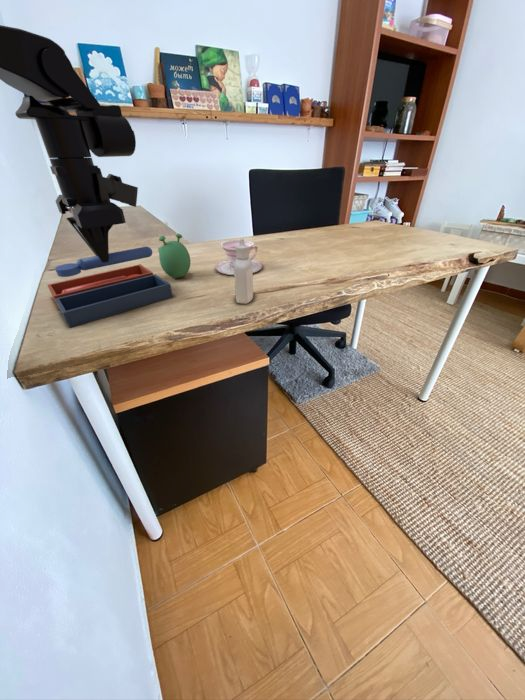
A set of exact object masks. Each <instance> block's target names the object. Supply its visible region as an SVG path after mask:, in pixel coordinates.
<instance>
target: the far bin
mask: <svg viewBox="0 0 525 700" xmlns="http://www.w3.org/2000/svg"><path fill="white" fill-rule="evenodd" d="M133 274H141V275H137V276H133V277H129V278H124V279H120V280H116V281H112V282H108V283H104V284H99V285H95V286H91V287H87V288H83V289H79V290H74V291H70V292H66V293H62V294H61V292H62V291H63V290H64V289H68V288H72V287H77V286H81V285H85V284H89V283H94V282H98V281H102V280H106V279H111V278H115V277H119V276H126V277H127V276H129V275H133ZM150 275H154V272H153V271H152V270H150V269H148V268H147V267H145V266H144V265H142V264H141V263H140V264H135V265H132V266H131V265H130V266H126V267H122V268H116V269H112V270H108V271H107V270H106V271H104V272H103V271H102V272H99V273H94V274H89V275H85V276H81V277H75V278H71V279H68V280H67V279H66V280H62V281H57V282H53V283H49V284H46V285H47V287H48V290H49V292H50V294H51V297H52V298H53V300H54V303H55V304H56V306H57V308H58V309H59V307H58V304H57V302H56V300H55V299H56V298H60V297H64V296H68V295H72V294H76V293H80V292H84V291H89V290H93V289H97V288H101V287H105V286H109V285H113V284H117V283H121V282H125V281H129V280H133V279H138V278H142V277H146V276H150Z"/></svg>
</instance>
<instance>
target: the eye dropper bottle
mask: <svg viewBox="0 0 525 700" xmlns="http://www.w3.org/2000/svg"><path fill="white" fill-rule="evenodd" d="M239 240H240V243H239V245H237V246H236V257H237V259H236V260H235V262H234V275H233V276H234V291H235V301H236V303H237V304H245V305H246V304H249V303H250V302H251V301H252V300H253V298H254V273H253V269H252V260H251V257H250V253H249V246H248V245H246V244H245V242H244V240H245V239H244V237H243V238H239Z"/></svg>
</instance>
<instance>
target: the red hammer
mask: <svg viewBox="0 0 525 700" xmlns="http://www.w3.org/2000/svg"><path fill="white" fill-rule="evenodd" d="M137 275H141V274H133V275H129V276H127V277H126V276H119V277H115V278H111V279H106V280H102V281H98V282H94V283H89V284H85V285H81V286H77V287H72V288H68V289H64V290H63V291H62V292H61V294H62V293H66V292H70V291H74V290H79V289H83V288H87V287H91V286H95V285H99V284H104V283H108V282H112V281H116V280H120V279H124V278H129V277H133V276H137Z"/></svg>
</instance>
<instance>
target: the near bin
mask: <svg viewBox="0 0 525 700" xmlns="http://www.w3.org/2000/svg"><path fill="white" fill-rule="evenodd" d="M170 298H174V297H173V293H172V287H171V284H170V283H169V282H168V281H166V280H164V279H163V278H161V277H160V276H159V275H157V274H156V273H153V275H150V276H146V277H142V278H138V279H133V280H129V281H125V282H121V283H117V284H113V285H109V286H105V287H101V288H97V289H93V290H89V291H84V292H80V293H76V294H72V295H68V296H64V297H60V298H56V299H55V300H56V302H57V304H58V306H57V308H58V307H59V308H58V309H59V311H60V314H61V315H62V317H63V319H64V320H65V322H66V324H67V326H68V328H73V327H76V326H80V325H84V324H86V323H90V322H93V321H97V320H100V319H103V318H107V317H110V316H113V315H117V314H121V313H123V312H126V311H130V310H133V309H136V308H137V309H138V308H140V307H144V306H147V305H150V304H154V303H157V302H161V301H163V300H167V299H170ZM55 300H54V301H55ZM56 302H55V303H56ZM57 304H56V305H57Z"/></svg>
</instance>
